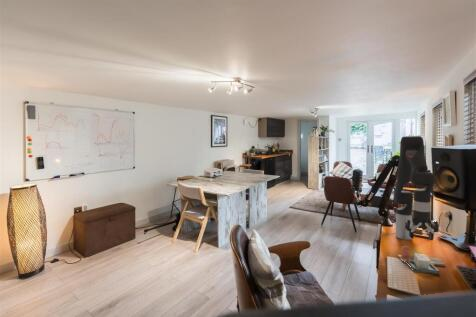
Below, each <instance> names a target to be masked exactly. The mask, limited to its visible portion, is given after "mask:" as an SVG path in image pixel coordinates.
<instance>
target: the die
mask: <svg viewBox="0 0 476 317" xmlns="http://www.w3.org/2000/svg"><path fill="white" fill-rule="evenodd" d="M413 256H414V262H415V264H416V266H417V268H426V269H429V264H430V260H429V259H428V257H429V256H427V255H426V254H424V253H416V252H414V255H413Z"/></svg>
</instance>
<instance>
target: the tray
mask: <svg viewBox="0 0 476 317" xmlns="http://www.w3.org/2000/svg"><path fill="white" fill-rule="evenodd" d="M406 262H407V263H408V264H409V265H410V266H411V268H412V269H413V270H412V269H411V268H410V269H411V270H412V271H413V272H414V273H421V274H422V273H424V274H434V275H440V270H439V269H438V268H437V267H436V265H432V264H431V263H430V264H429V269H426V268H417V266H416V264H415V262H414V261H413V260H406ZM407 263H406V264H407ZM408 264H407V265H408ZM409 265H408V266H409ZM410 266H409V267H410Z"/></svg>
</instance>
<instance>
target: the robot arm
mask: <svg viewBox="0 0 476 317" xmlns="http://www.w3.org/2000/svg"><path fill="white" fill-rule="evenodd" d="M399 145H400V146H399V159H398V166H397V172H396V183H395V188H394V191H393V192H394V193H393V202H394V203H395V204H396V205H403V206H401V207H397V208H396V209H395V237H396V238H398V239H400V240H405V241H410V240H414V238H415V237H414V235H415V234H414V233H415V232H414V231H416V230H418V229H427V230H428V239H429V240H430V241H432V240H434V236H435V233H439V222H438V221H437V220H435V219H432V220H431V218H432V204H431V201H432V200H431V198H432V196H431V195H432V190H433V188H434V185H435V183H436V179H437V178H436V175H435V174H434V173H432V172H431V171H430V172H428V170H429V168H428V165H427V162H426V156H425V144H424V139H423V137H422V136H420V135H404V136H402V137H401V139H400V143H399ZM408 151H411V152H416V153H414V154H413V155H412V157H411V158H409V157H408V154H407V152H408ZM410 183H411V184H412V185H414V186H424V187H423V188H419V189H415V190H414V191H413V192H412V191H410V190H409V191H407V190H403V189H404V188H405V187H406V186H407V185H408V184H410ZM430 225H432V227H431V226H430Z"/></svg>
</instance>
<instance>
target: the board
mask: <svg viewBox="0 0 476 317" xmlns="http://www.w3.org/2000/svg"><path fill="white" fill-rule="evenodd" d="M401 256H402V254H397V258H398V259H400V261H401V260H402V261H405V262H406V259H403V258H401ZM409 257H410V259H409V260H413V261H414V255H409ZM427 257H428V259H429V260H430V263H431V264H432V265H434V266H439V267H446V264H445V262H443V261H442V260H441V259H440V258H439V257H429V256H427ZM402 261H401V262H402ZM405 262H404V263H405Z"/></svg>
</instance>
